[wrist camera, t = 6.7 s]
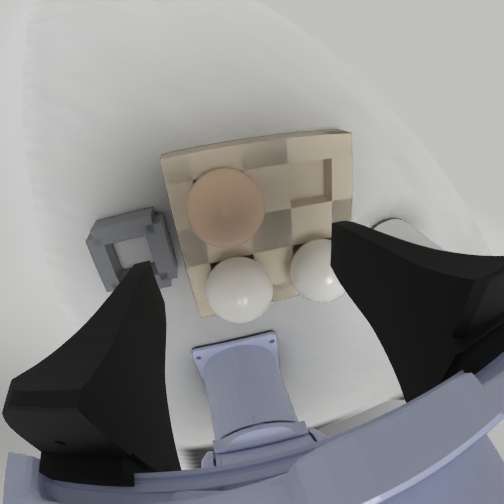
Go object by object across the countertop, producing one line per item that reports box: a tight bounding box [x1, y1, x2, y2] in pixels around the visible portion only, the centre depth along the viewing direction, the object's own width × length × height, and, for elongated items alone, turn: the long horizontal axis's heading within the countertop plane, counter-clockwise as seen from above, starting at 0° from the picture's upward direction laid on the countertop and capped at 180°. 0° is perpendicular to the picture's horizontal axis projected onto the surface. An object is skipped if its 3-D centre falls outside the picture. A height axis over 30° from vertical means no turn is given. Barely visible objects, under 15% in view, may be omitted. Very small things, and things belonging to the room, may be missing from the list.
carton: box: [160, 129, 353, 318], centre depth 20 cm, size 12×12×2 cm
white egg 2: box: [290, 239, 345, 303], centre depth 20 cm, size 4×4×4 cm
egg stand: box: [86, 207, 177, 292], centre depth 19 cm, size 5×5×2 cm
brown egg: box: [185, 168, 265, 248], centre depth 16 cm, size 4×4×4 cm
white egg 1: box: [205, 257, 273, 324], centre depth 19 cm, size 4×4×4 cm
